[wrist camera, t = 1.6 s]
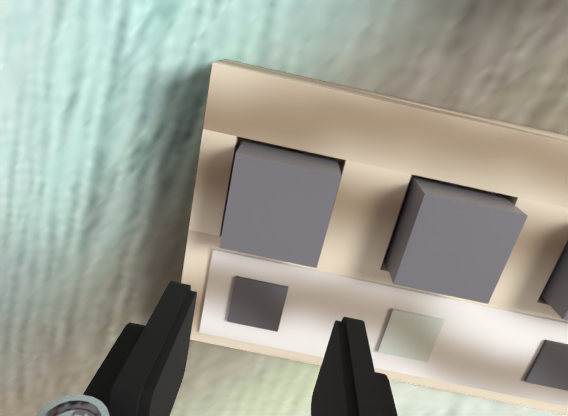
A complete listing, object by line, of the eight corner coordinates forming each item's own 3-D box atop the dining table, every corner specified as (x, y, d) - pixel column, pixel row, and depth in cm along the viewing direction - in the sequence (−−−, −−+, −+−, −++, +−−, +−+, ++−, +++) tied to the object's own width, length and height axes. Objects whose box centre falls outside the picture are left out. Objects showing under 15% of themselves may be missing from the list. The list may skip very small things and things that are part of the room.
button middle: (470, 277, 25) (488, 303, 22) (384, 260, 25) (393, 284, 22) (504, 197, 23) (527, 215, 21) (412, 176, 23) (425, 193, 20)
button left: (315, 245, 25) (316, 268, 22) (227, 227, 24) (219, 247, 22) (337, 160, 23) (341, 175, 20) (243, 140, 23) (235, 152, 20)
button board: (569, 381, 31) (605, 427, 27) (188, 303, 30) (171, 340, 26) (695, 164, 25) (761, 185, 21) (225, 59, 24) (210, 63, 20)
